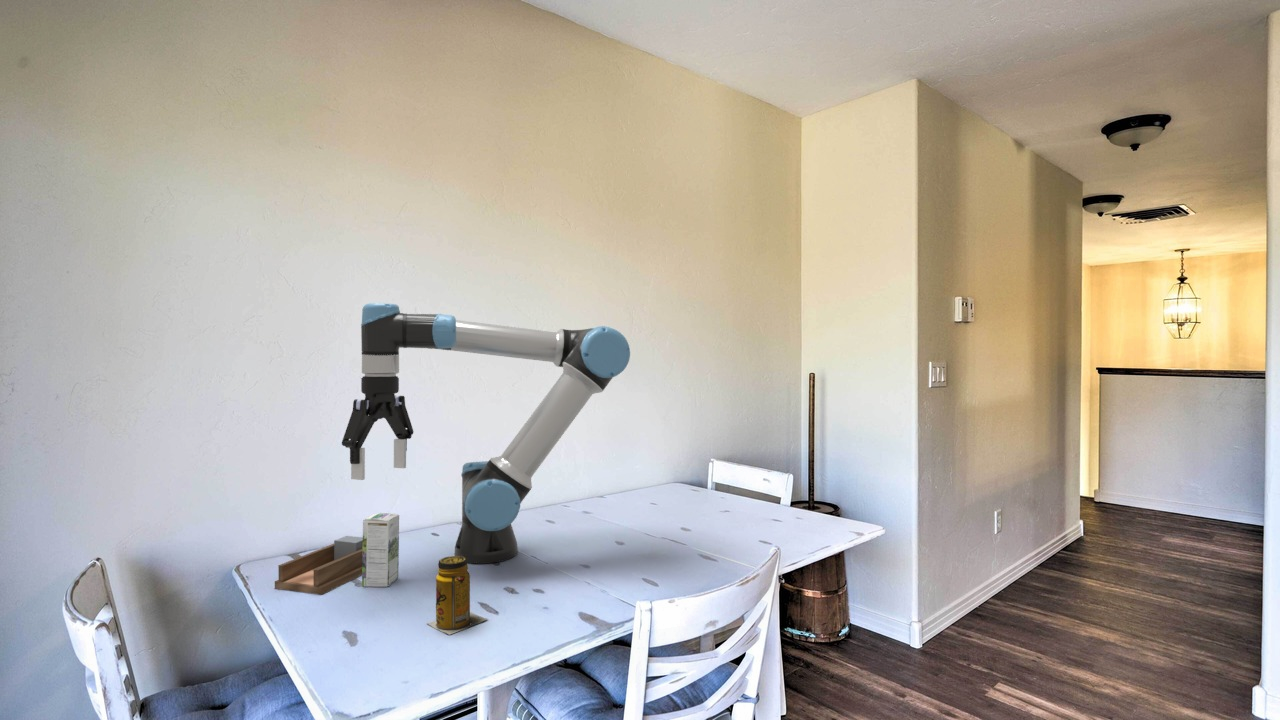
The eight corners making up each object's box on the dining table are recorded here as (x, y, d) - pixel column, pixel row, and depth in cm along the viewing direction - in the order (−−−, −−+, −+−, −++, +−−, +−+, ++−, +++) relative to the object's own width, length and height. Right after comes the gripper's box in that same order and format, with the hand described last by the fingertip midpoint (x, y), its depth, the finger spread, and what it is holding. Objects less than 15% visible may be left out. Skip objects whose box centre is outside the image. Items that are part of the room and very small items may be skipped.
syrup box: (373, 577, 143) (373, 512, 143) (399, 578, 143) (399, 512, 143) (361, 587, 138) (361, 519, 137) (388, 587, 137) (388, 519, 137)
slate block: (368, 559, 151) (368, 538, 151) (356, 564, 147) (356, 542, 147) (346, 556, 153) (346, 535, 153) (334, 562, 149) (334, 540, 149)
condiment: (426, 624, 120) (426, 560, 119) (465, 610, 126) (465, 549, 126) (449, 636, 115) (449, 568, 115) (488, 620, 121) (488, 557, 121)
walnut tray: (382, 565, 151) (382, 544, 151) (321, 594, 133) (321, 570, 133) (339, 560, 155) (339, 539, 155) (274, 588, 137) (274, 564, 136)
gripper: (401, 372, 153) (401, 462, 153) (322, 377, 129) (322, 483, 129) (429, 373, 150) (429, 464, 151) (354, 377, 127) (353, 486, 127)
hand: (379, 473), depth 140 cm, fingers open, 13 cm apart
